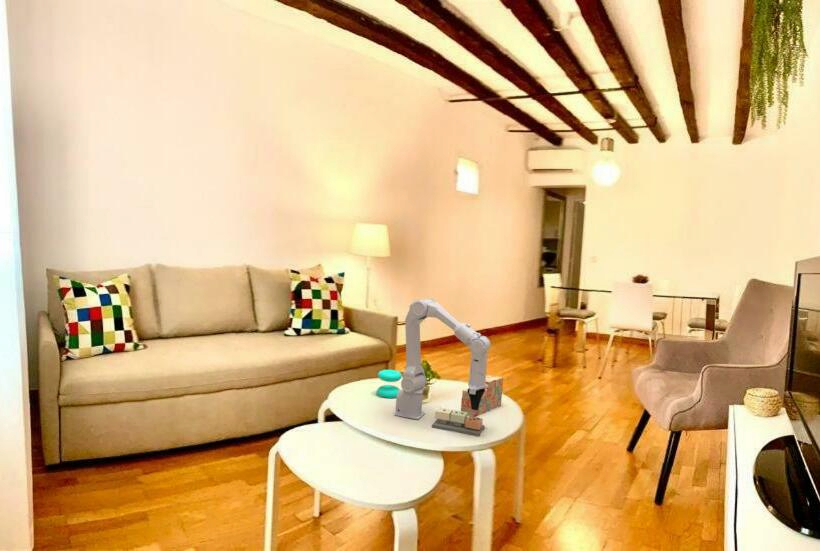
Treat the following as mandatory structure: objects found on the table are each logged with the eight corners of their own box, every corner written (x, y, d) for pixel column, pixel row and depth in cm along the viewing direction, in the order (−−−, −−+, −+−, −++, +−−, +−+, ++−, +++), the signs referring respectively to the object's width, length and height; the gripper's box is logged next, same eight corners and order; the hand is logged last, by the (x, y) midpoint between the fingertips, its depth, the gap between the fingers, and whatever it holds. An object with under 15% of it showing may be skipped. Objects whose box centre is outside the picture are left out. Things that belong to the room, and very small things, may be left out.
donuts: (385, 367, 221) (406, 371, 217) (383, 390, 222) (404, 394, 218) (373, 372, 212) (395, 376, 208) (372, 395, 213) (393, 400, 209)
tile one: (435, 418, 182) (435, 410, 182) (439, 414, 187) (439, 406, 186) (448, 420, 180) (449, 413, 180) (452, 416, 185) (453, 409, 185)
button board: (431, 427, 180) (432, 419, 180) (438, 419, 189) (439, 411, 189) (479, 436, 175) (479, 427, 175) (484, 428, 183) (484, 420, 183)
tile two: (450, 420, 180) (450, 413, 180) (453, 416, 185) (454, 409, 185) (464, 423, 178) (464, 415, 178) (467, 419, 183) (467, 411, 183)
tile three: (465, 427, 178) (465, 419, 178) (468, 422, 183) (468, 415, 183) (479, 429, 177) (479, 422, 176) (482, 425, 181) (482, 418, 181)
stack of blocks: (474, 417, 194) (476, 385, 194) (460, 413, 198) (462, 382, 198) (501, 406, 211) (503, 377, 210) (487, 402, 215) (490, 373, 214)
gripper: (485, 377, 171) (481, 417, 171) (493, 368, 184) (489, 405, 185) (464, 374, 173) (461, 413, 174) (473, 365, 187) (470, 402, 187)
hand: (474, 409), depth 180 cm, fingers closed
